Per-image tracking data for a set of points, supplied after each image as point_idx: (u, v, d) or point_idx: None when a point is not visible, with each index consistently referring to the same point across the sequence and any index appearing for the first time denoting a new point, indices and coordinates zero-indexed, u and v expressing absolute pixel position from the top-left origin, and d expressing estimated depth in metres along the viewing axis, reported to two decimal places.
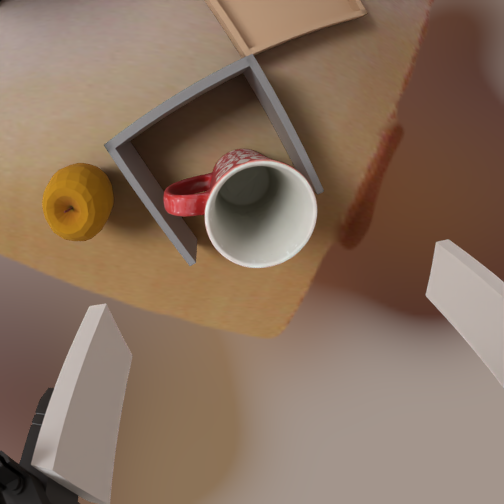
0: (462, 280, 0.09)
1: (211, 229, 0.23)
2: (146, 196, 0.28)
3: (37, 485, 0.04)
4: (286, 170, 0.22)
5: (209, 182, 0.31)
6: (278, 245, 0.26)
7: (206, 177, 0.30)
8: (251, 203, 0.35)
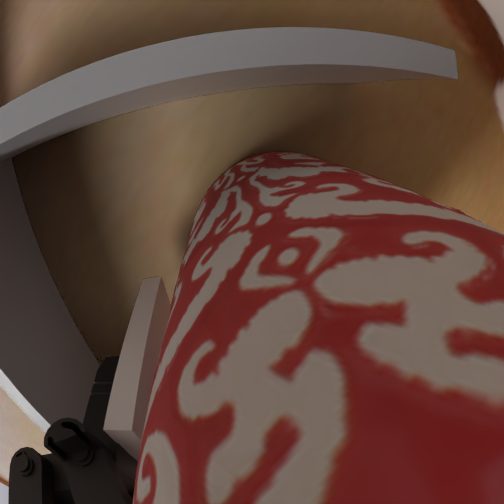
0: None
1: None
2: None
3: (109, 457, 0.05)
4: None
5: None
6: None
7: None
8: None
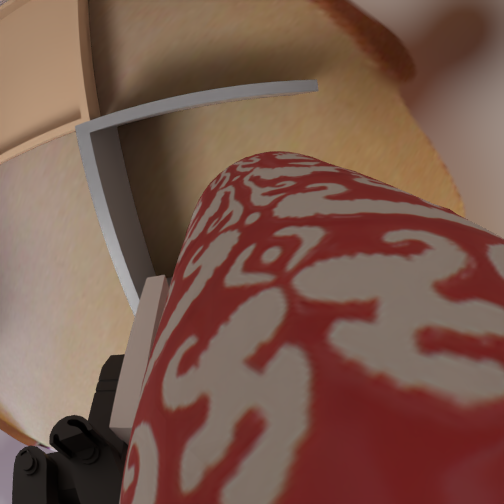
0: None
1: None
2: None
3: (115, 455, 0.05)
4: None
5: None
6: None
7: None
8: None
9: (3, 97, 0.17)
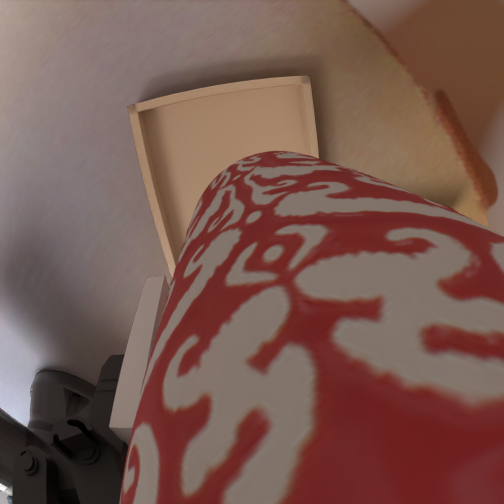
0: None
1: None
2: None
3: (115, 455, 0.05)
4: None
5: None
6: None
7: None
8: None
9: None
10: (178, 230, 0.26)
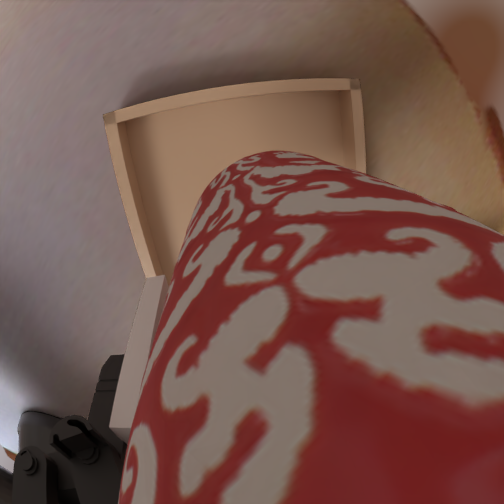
0: None
1: None
2: None
3: (115, 455, 0.05)
4: None
5: None
6: None
7: None
8: None
9: None
10: None
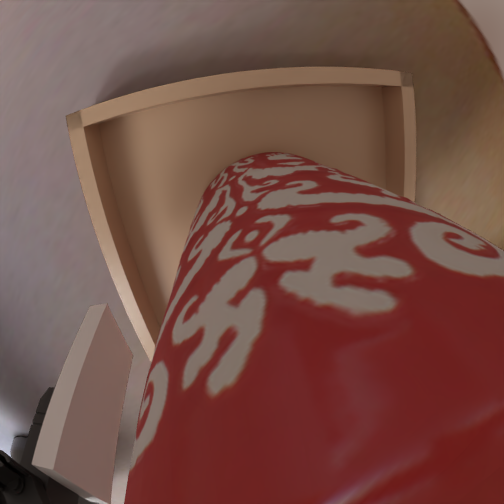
0: None
1: None
2: None
3: (38, 485, 0.04)
4: None
5: None
6: None
7: None
8: None
9: None
10: None
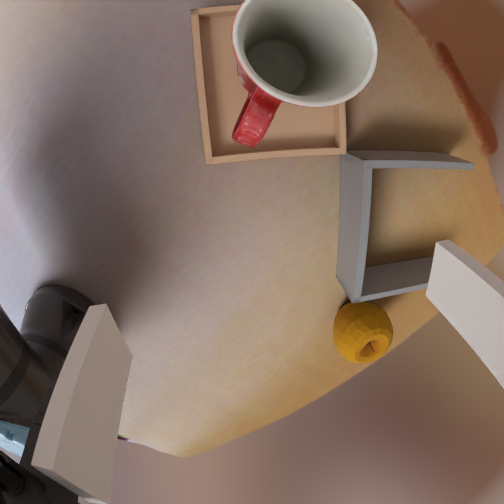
0: (462, 280, 0.09)
1: (296, 99, 0.15)
2: (401, 289, 0.33)
3: (37, 485, 0.04)
4: None
5: None
6: (356, 47, 0.15)
7: (249, 97, 0.24)
8: (305, 70, 0.25)
9: (244, 97, 0.27)
10: (216, 117, 0.27)
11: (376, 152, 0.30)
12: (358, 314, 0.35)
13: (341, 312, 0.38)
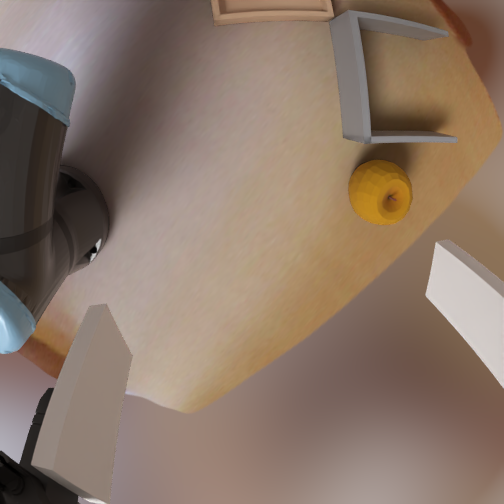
0: (462, 279, 0.09)
1: None
2: (410, 137, 0.31)
3: (37, 485, 0.04)
4: None
5: None
6: None
7: None
8: None
9: None
10: None
11: None
12: (372, 163, 0.33)
13: (354, 171, 0.36)
